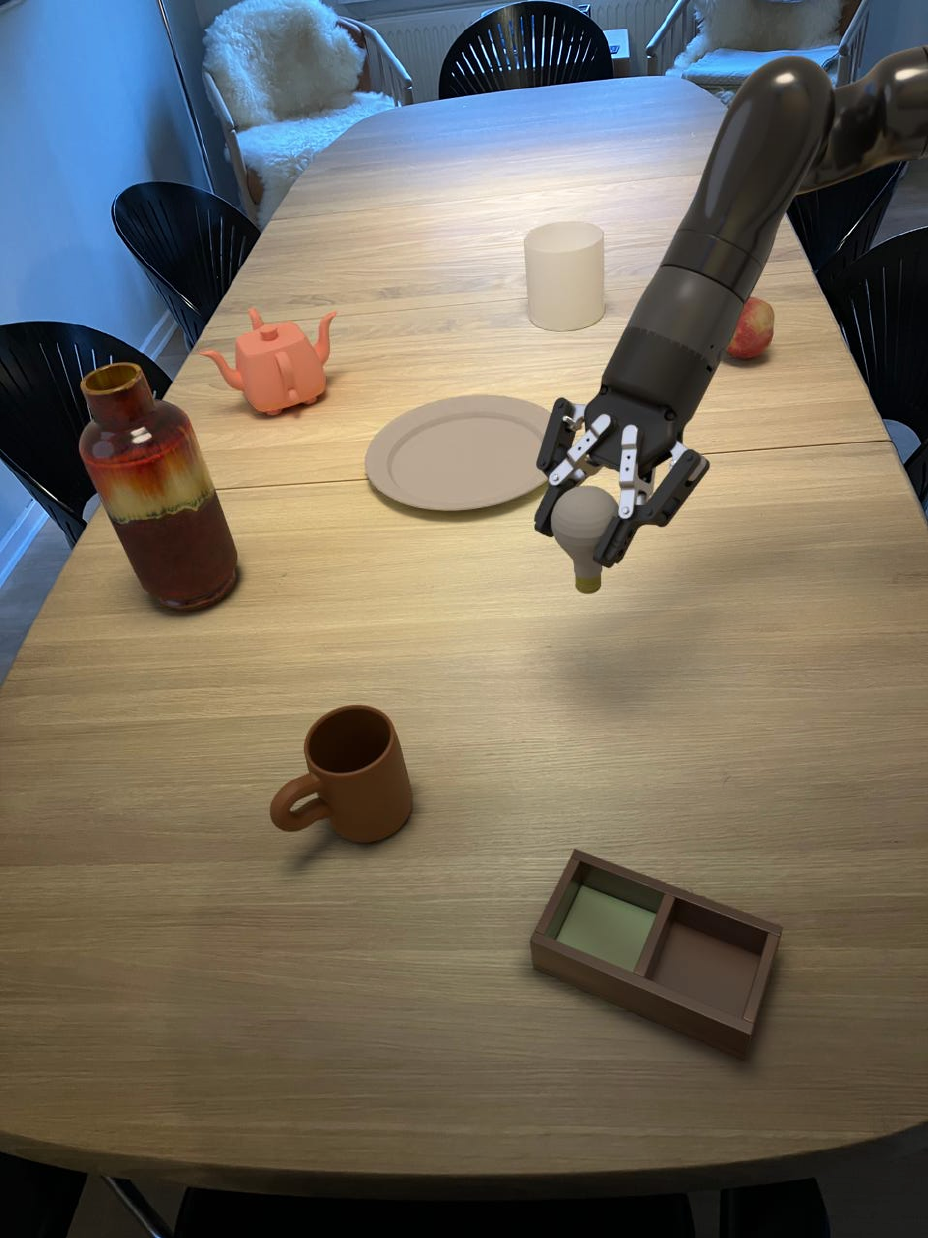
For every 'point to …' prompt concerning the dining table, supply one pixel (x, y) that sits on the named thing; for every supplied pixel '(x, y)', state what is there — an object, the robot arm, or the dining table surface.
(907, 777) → the dining table surface
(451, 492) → the plate
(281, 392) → the teapot
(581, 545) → the light bulb
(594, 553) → the robot arm
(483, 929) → the dining table surface
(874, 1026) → the dining table surface
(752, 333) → the fruit
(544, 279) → the cup
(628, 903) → the tray
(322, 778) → the mug
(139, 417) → the vase
